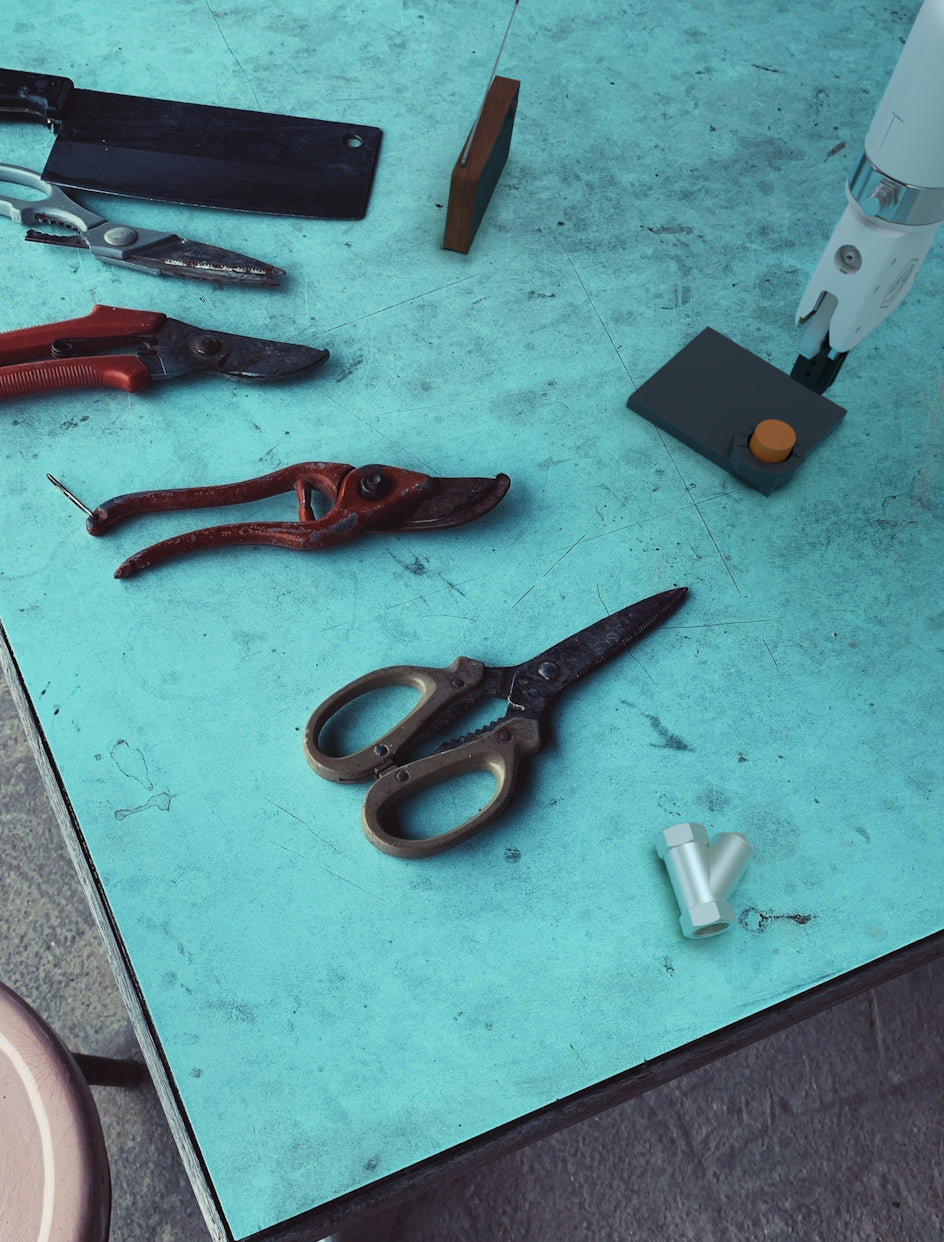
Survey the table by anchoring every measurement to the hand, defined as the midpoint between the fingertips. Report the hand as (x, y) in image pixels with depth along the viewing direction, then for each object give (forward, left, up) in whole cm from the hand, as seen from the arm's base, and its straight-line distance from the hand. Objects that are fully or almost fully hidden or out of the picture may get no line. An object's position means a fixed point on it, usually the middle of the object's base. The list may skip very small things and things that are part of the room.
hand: (810, 381), depth 99 cm
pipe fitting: (-19, +37, -12) cm, 43 cm away
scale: (+7, -5, -12) cm, 15 cm away
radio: (+44, -12, -12) cm, 47 cm away
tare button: (+1, -1, -10) cm, 10 cm away
